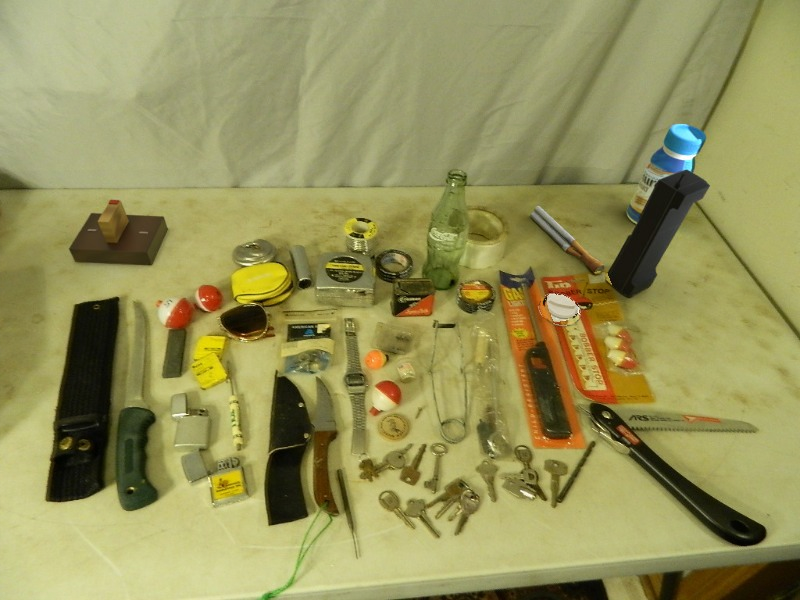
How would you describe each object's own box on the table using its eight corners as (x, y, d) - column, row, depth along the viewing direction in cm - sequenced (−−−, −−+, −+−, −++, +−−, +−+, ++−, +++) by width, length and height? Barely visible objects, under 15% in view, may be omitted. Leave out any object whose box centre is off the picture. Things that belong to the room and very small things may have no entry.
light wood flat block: (117, 242, 92) (108, 220, 88) (106, 242, 91) (96, 220, 88) (129, 221, 96) (120, 199, 92) (118, 220, 96) (110, 198, 92)
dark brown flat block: (74, 261, 92) (67, 248, 90) (96, 225, 99) (90, 212, 97) (151, 265, 93) (146, 251, 90) (168, 228, 100) (163, 215, 97)
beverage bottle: (670, 231, 110) (719, 145, 96) (631, 229, 110) (674, 142, 95) (657, 206, 116) (701, 122, 102) (619, 204, 116) (658, 119, 101)
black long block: (629, 265, 102) (690, 149, 84) (654, 284, 99) (723, 168, 81) (601, 278, 99) (659, 161, 81) (626, 299, 95) (692, 182, 77)
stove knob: (578, 331, 89) (582, 323, 88) (535, 319, 90) (538, 311, 89) (581, 301, 94) (585, 294, 93) (540, 290, 95) (543, 283, 94)
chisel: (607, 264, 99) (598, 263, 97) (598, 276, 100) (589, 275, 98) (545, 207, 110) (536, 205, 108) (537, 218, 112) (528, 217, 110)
